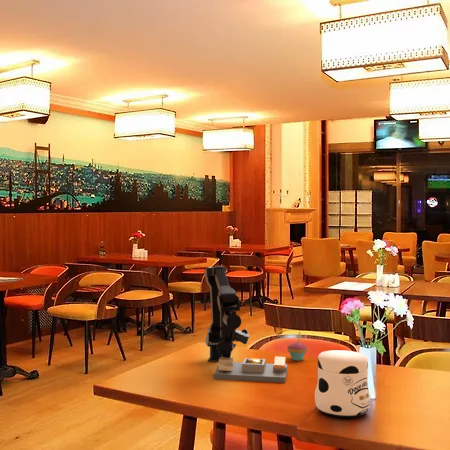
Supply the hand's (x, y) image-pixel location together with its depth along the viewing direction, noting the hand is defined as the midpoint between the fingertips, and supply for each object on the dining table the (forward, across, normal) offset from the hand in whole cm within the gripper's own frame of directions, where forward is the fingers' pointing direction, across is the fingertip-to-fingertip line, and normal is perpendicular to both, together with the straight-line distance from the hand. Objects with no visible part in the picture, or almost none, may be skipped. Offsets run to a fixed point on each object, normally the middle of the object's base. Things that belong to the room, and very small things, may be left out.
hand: (227, 363), depth 230 cm
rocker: (-1, 0, -20) cm, 20 cm away
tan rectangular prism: (+2, -4, 0) cm, 4 cm away
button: (+1, 0, -10) cm, 10 cm away
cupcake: (+4, +25, -26) cm, 36 cm away
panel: (+4, 0, -9) cm, 10 cm away
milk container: (+4, -38, -42) cm, 57 cm away
